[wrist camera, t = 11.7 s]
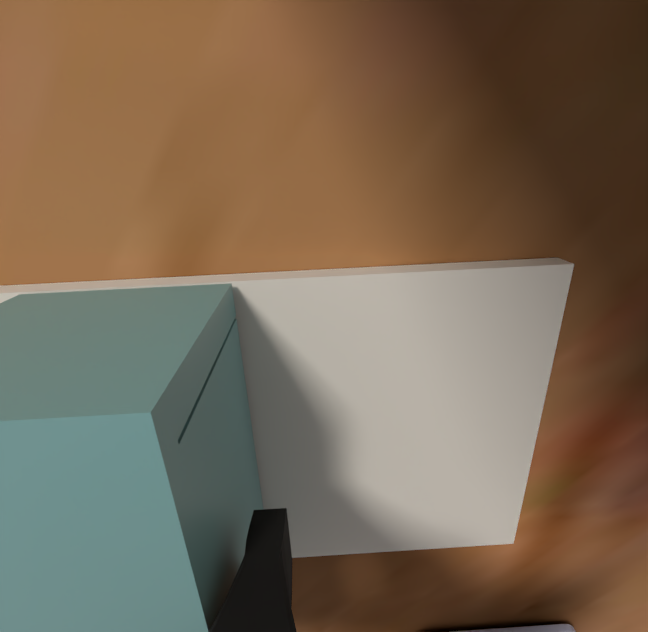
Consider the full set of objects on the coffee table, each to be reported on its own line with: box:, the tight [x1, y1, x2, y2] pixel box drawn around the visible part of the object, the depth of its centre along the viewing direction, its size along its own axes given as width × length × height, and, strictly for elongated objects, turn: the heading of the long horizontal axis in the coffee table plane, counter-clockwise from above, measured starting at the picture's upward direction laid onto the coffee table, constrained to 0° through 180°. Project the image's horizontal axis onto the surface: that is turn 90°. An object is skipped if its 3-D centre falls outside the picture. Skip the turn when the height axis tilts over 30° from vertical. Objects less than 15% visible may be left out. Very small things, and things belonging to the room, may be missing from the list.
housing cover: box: [0, 284, 263, 632], centre depth 10 cm, size 12×6×6 cm, turn 2°
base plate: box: [0, 258, 574, 558], centre depth 12 cm, size 12×18×4 cm, turn 92°
